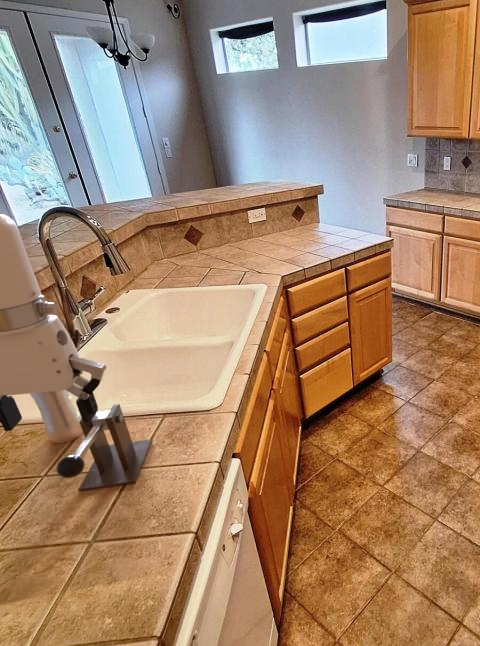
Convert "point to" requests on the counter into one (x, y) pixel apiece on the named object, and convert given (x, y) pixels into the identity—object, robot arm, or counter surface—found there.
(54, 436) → the plastic bottle
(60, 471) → the tap lever
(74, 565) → the counter surface
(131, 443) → the bracket
